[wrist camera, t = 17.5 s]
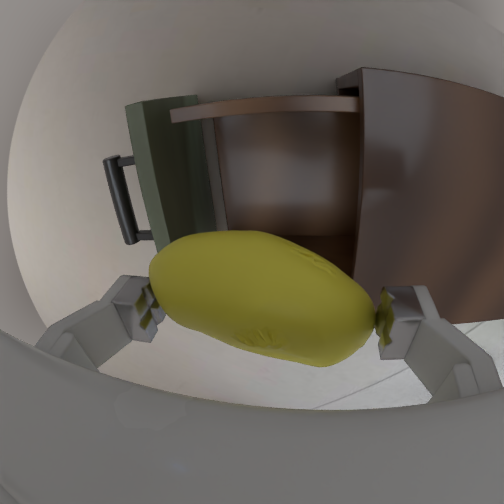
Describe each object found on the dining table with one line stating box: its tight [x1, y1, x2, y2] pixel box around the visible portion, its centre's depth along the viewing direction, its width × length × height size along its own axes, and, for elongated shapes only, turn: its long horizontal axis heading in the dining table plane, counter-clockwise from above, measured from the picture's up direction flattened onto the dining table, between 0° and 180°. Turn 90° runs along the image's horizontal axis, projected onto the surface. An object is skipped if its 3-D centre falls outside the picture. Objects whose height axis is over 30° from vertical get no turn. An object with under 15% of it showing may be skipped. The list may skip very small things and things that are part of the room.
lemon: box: [149, 230, 376, 367], centre depth 9 cm, size 4×8×4 cm, turn 72°
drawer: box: [103, 95, 360, 277], centre depth 19 cm, size 20×14×8 cm
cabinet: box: [336, 67, 504, 328], centre depth 16 cm, size 16×15×10 cm
